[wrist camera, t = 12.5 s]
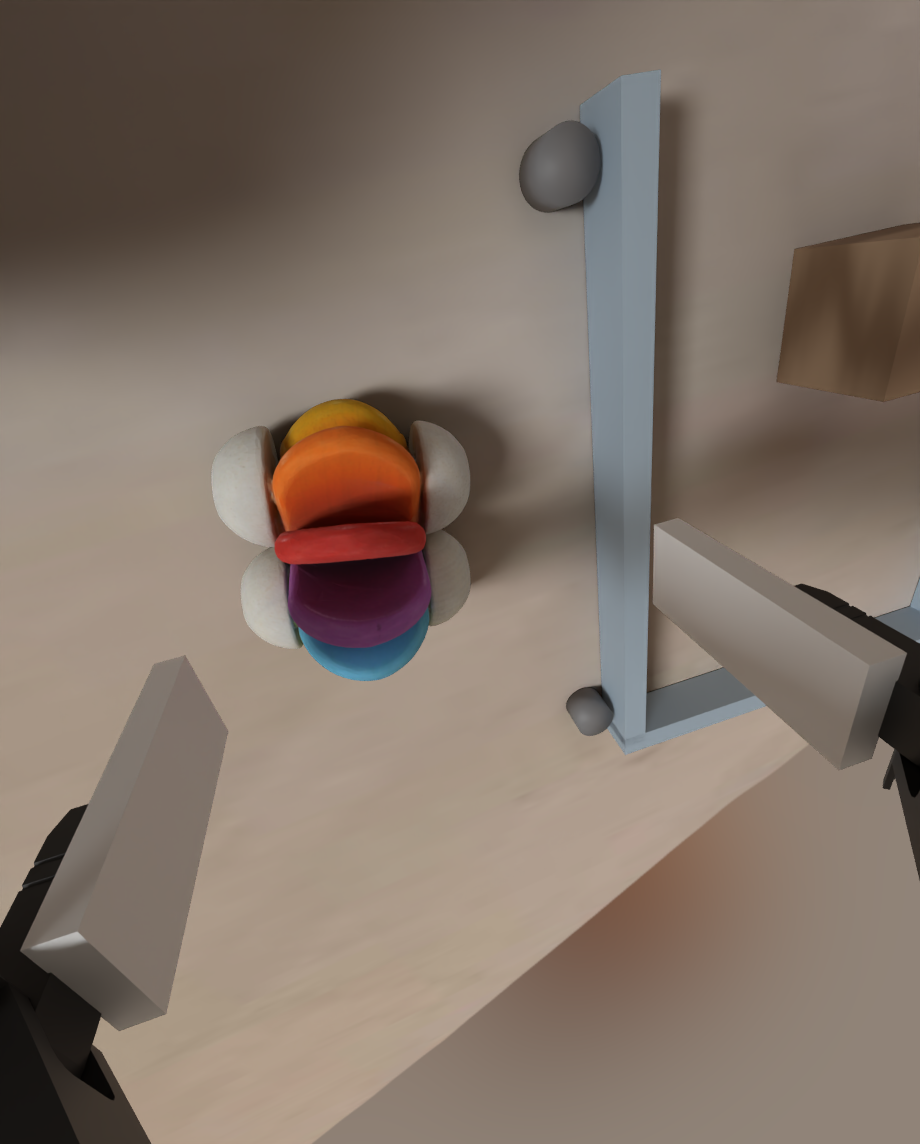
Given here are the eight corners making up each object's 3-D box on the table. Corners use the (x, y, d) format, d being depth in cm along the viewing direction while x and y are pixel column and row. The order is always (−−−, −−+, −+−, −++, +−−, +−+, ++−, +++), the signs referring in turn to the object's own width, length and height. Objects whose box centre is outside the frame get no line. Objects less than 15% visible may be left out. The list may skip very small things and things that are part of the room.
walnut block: (793, 249, 20) (924, 236, 16) (901, 225, 20) (1055, 206, 16) (774, 381, 22) (883, 402, 18) (871, 356, 23) (998, 370, 19)
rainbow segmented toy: (451, 385, 19) (517, 428, 13) (454, 604, 24) (504, 713, 18) (208, 397, 17) (150, 453, 11) (263, 631, 22) (243, 763, 16)
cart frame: (513, 115, 16) (545, 87, 14) (1184, 7, 19) (1293, -29, 17) (568, 733, 30) (588, 767, 28) (948, 606, 33) (992, 627, 31)
